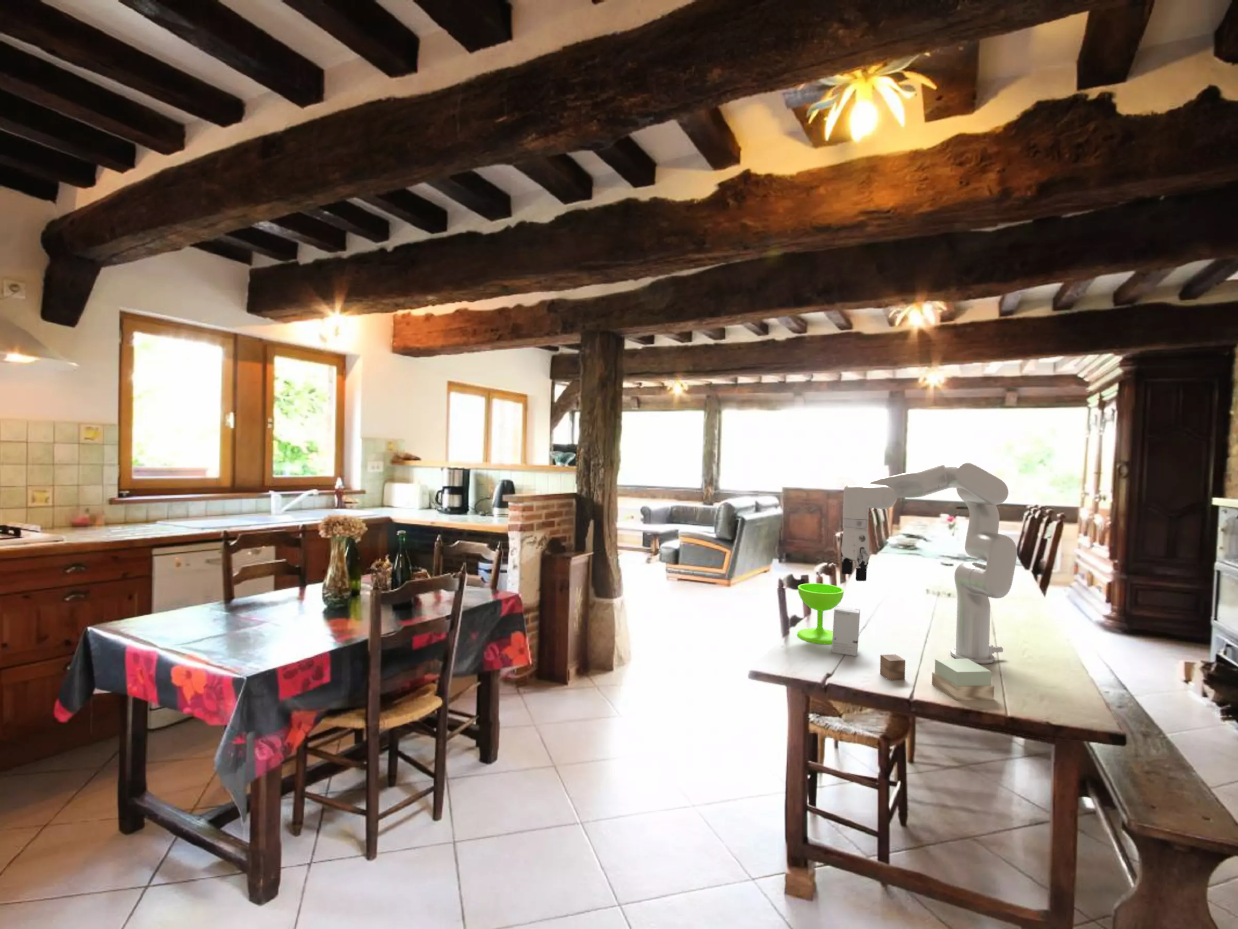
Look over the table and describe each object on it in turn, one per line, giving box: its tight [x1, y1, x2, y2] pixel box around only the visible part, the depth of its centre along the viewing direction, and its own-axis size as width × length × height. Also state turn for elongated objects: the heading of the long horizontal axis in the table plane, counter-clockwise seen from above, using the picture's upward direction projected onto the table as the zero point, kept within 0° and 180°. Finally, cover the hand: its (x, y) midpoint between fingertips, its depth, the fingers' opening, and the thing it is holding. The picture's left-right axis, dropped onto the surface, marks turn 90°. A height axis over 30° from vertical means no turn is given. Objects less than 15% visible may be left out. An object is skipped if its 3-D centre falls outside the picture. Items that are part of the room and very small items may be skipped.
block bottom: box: [931, 671, 995, 702], centre depth 171 cm, size 11×11×4 cm
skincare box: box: [831, 605, 861, 657], centre depth 203 cm, size 8×6×15 cm
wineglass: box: [796, 582, 845, 645], centre depth 218 cm, size 16×16×18 cm
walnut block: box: [879, 654, 906, 681], centre depth 181 cm, size 5×5×6 cm
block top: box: [934, 658, 992, 686], centre depth 171 cm, size 10×10×4 cm
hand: (853, 577), depth 191 cm, fingers open, 9 cm apart
